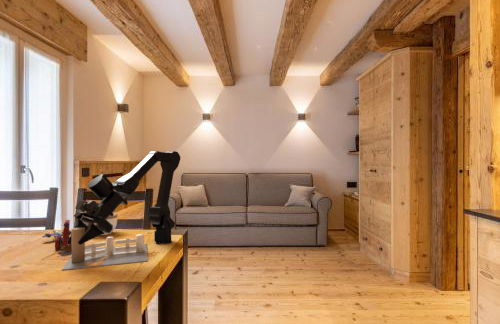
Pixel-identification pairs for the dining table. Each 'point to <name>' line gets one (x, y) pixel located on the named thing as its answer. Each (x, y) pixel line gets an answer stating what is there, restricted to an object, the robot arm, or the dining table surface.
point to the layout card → (109, 258)
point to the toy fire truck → (64, 237)
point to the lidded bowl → (112, 222)
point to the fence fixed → (138, 246)
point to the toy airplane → (54, 234)
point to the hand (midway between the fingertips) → (74, 241)
